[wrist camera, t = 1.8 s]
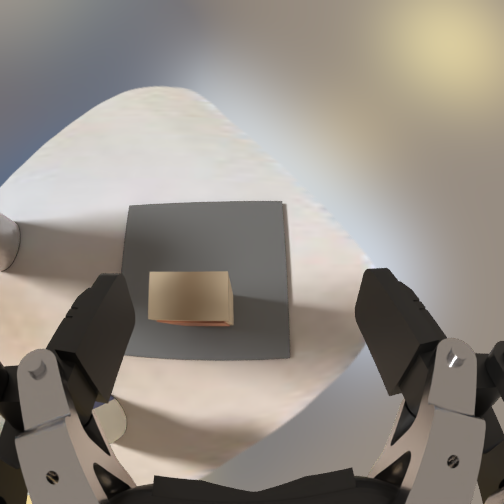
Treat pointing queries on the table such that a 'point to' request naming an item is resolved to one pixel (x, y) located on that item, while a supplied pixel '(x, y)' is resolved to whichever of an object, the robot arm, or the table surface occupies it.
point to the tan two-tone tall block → (191, 298)
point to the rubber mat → (206, 260)
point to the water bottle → (105, 419)
